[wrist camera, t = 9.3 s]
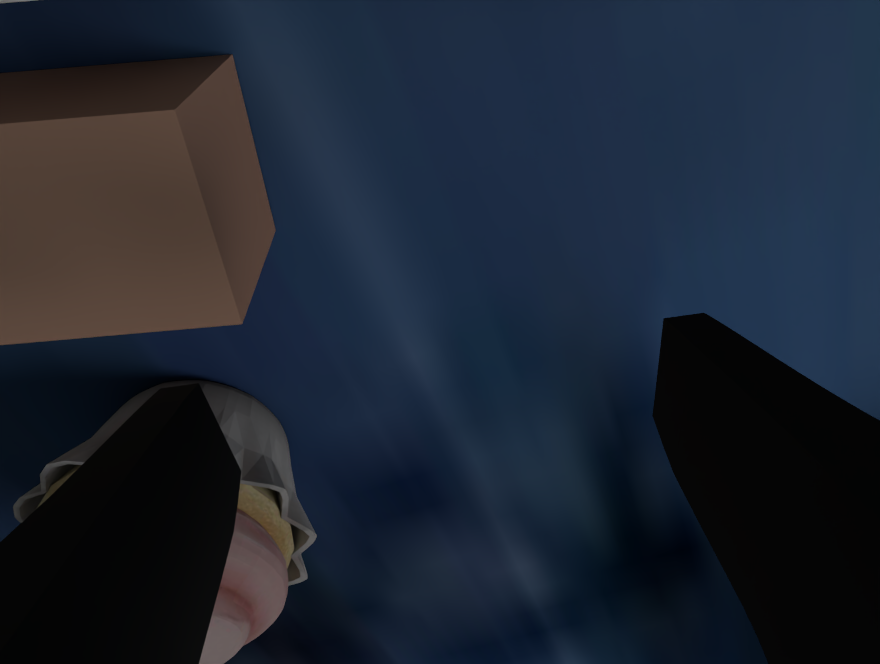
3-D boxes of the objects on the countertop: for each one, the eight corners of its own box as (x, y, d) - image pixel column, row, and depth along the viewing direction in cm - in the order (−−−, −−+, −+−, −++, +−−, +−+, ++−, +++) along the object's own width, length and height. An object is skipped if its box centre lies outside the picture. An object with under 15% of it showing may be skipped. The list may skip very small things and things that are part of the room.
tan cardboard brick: (232, 54, 15) (174, 109, 11) (275, 230, 18) (241, 324, 14) (-121, 82, 15) (-305, 149, 11) (-21, 255, 18) (-138, 356, 14)
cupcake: (280, 535, 27) (232, 806, 19) (57, 476, 24) (-114, 769, 16) (370, 397, 23) (357, 674, 15) (109, 301, 20) (-92, 586, 11)
